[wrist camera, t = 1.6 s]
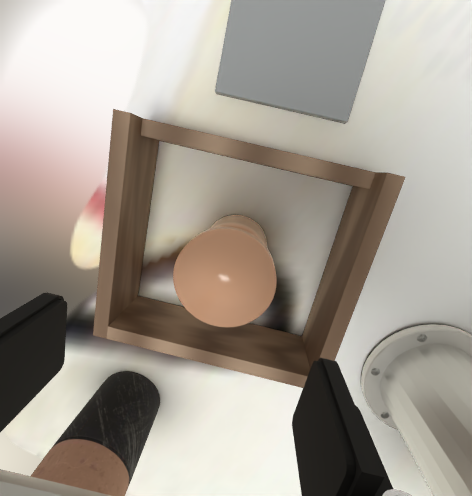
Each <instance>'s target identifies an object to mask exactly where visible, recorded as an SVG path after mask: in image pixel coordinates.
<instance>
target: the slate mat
mask: <svg viewBox="0 0 472 496" xmlns="http://www.w3.org/2000/svg"><path fill="white" fill-rule="evenodd" d="M384 3H385V0H231V6H230V11H229V17H228V22H227V28H226V33H225V39H224V44H223V50H222V56H221V61H220V67H219V72H218V78H217V83H216V89H215V92H216V94H219V95H223V96H227V97H232V98H236V99H240V100H245V101H249V102H253V103H258V104H262V105H267V106H271V107H275V108H280V109H284V110H288V111H293V112H297V113H301V114H306V115H310V116H315V117H319V118H323V119H328V120H332V121H336V122H341V123H346V122H348V119H349V116H350V112H351V109H352V106H353V103H354V99H355V96H356V93H357V90H358V87H359V83H360V80H361V77H362V74H363V71H364V67H365V64H366V61H367V58H368V55H369V51H370V48H371V45H372V42H373V39H374V35H375V32H376V29H377V26H378V23H379V19H380V16H381V13H382V10H383V7H384Z"/></svg>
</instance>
